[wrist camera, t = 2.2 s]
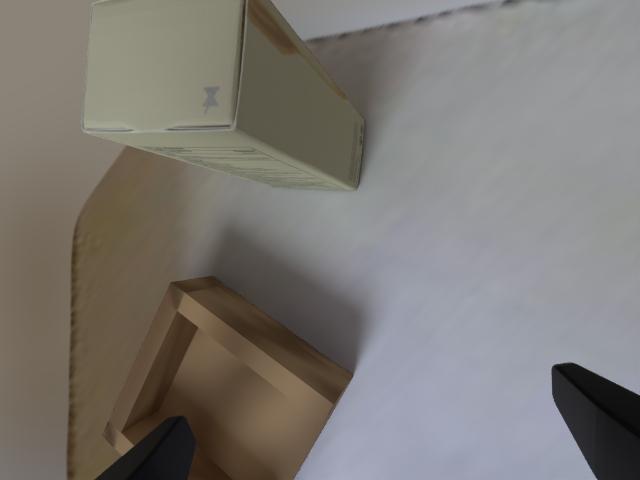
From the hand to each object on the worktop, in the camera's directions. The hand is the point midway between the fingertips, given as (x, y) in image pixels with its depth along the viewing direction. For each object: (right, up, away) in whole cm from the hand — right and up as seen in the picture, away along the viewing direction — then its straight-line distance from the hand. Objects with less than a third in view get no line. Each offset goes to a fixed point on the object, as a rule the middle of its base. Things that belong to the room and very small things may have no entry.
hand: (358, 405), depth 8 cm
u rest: (-6, -6, +15) cm, 17 cm away
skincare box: (-1, +9, +13) cm, 16 cm away
